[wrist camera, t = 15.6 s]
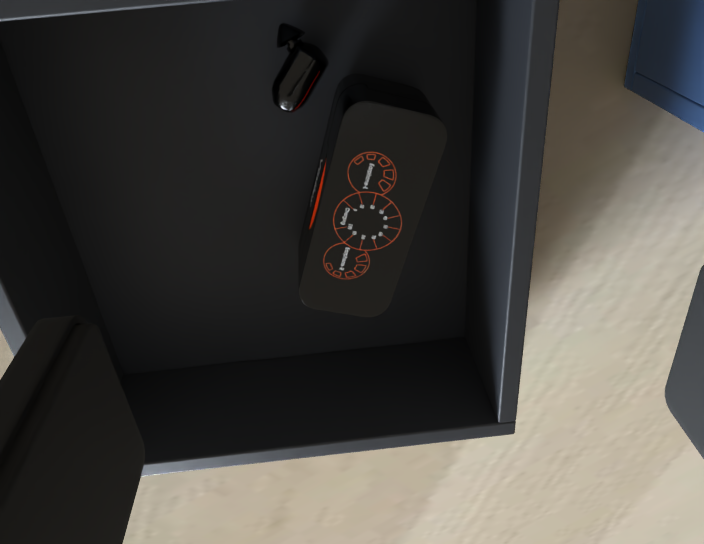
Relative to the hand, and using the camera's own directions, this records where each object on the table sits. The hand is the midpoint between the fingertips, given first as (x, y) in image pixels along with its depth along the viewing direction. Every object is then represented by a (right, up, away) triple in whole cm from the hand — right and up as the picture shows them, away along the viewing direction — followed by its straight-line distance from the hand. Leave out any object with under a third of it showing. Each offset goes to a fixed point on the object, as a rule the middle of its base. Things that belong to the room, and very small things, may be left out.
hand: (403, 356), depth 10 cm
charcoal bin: (-3, +4, +10) cm, 11 cm away
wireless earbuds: (-1, +5, +9) cm, 11 cm away
